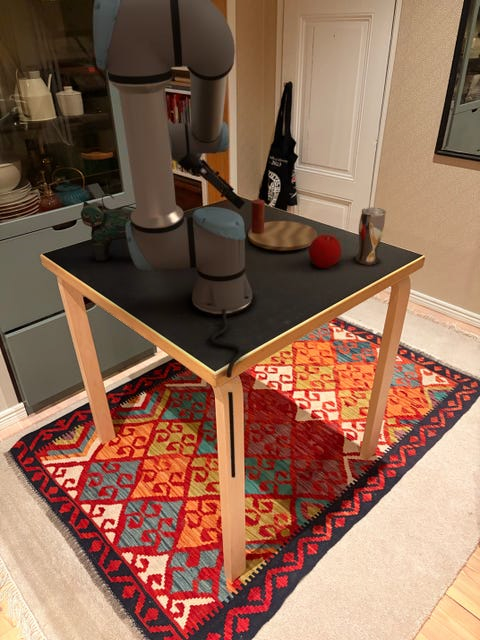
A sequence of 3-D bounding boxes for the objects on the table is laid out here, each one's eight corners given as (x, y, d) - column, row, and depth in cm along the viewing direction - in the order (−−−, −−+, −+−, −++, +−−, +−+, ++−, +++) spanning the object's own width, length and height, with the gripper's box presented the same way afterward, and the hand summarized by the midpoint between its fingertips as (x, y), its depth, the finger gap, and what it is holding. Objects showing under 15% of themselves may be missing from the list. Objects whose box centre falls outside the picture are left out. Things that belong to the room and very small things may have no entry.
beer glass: (365, 253, 141) (372, 205, 133) (383, 261, 136) (392, 211, 128) (349, 259, 138) (355, 210, 130) (367, 267, 133) (375, 217, 125)
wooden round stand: (318, 226, 157) (321, 193, 151) (314, 252, 139) (317, 216, 133) (254, 222, 161) (254, 190, 155) (242, 248, 143) (242, 212, 137)
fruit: (335, 274, 130) (338, 240, 124) (304, 268, 133) (306, 235, 128) (343, 261, 137) (346, 228, 131) (313, 256, 140) (316, 224, 135)
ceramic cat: (88, 262, 139) (75, 195, 128) (97, 253, 144) (84, 189, 133) (153, 264, 137) (145, 197, 126) (159, 255, 142) (152, 190, 131)
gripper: (200, 151, 121) (255, 202, 132) (185, 132, 141) (234, 178, 153) (182, 173, 123) (238, 221, 134) (170, 152, 143) (219, 195, 154)
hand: (236, 198), depth 143 cm, fingers open, 13 cm apart
